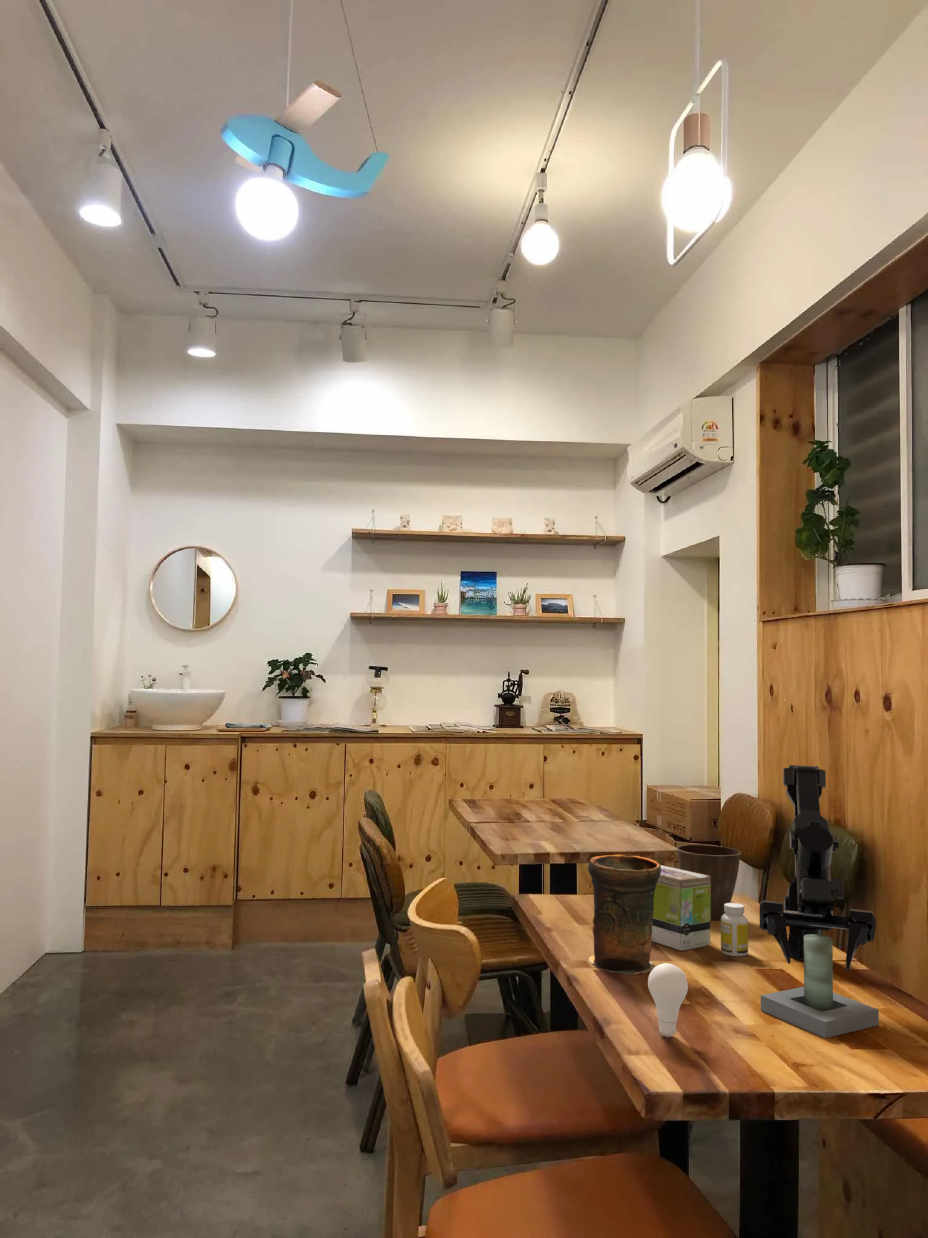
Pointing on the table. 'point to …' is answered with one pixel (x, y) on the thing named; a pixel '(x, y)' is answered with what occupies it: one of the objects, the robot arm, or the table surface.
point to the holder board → (820, 1013)
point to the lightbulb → (667, 995)
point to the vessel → (623, 912)
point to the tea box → (682, 909)
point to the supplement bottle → (734, 930)
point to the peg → (818, 972)
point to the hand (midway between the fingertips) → (818, 966)
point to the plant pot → (713, 871)
